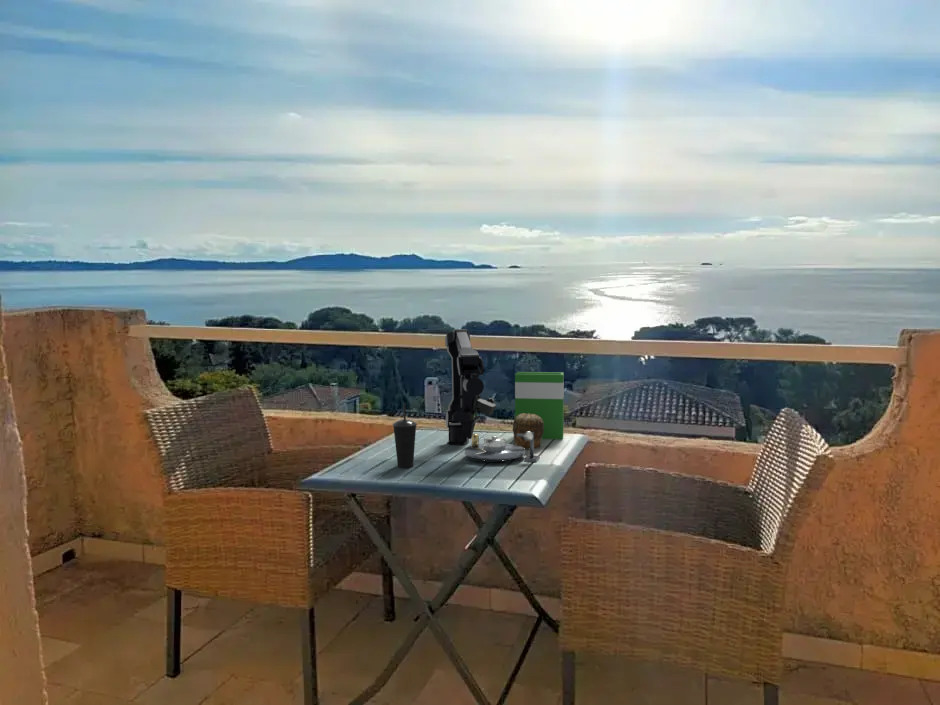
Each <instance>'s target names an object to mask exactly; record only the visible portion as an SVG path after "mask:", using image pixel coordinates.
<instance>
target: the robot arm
mask: <svg viewBox="0 0 940 705" xmlns="http://www.w3.org/2000/svg"><path fill="white" fill-rule="evenodd" d="M444 346H445V347H446V352H447V353H448V355H449V356H450V358H451V359H450V360H451V392H452V393H451V396H452V398H451V399H450V402H449V404H448V406H447V407H448V408H447V410H446V414H445V427H446V428H448V441H447V442H446V444H447V445H448V444H449V445H465V444H467V443H469V441H470V440H472V435H473V434H474V430H475V426H476V423H477V422H478V420H480V419H481V418H482V416H479V415H478V414H477V413H482V415H486V416H489V417H490V416H491V415H493V414H494V411H495V409H496V408H497V406H496V405H497V404H496V403H495V399H493V398H492V397H489V398H488V399H487V400H486V399H483V398H482V395H481V394H482V393H483V391H484V388H485V385H484V382H483V381H482V379H481V378H480V376H483V375H484V373H485V366H484V362H483V359H482V357H481V356H480V354H479V352H478V351H477V350H476V349H473V347H472V344H471V334H470V332H469V330H468V329H466V328H460V329H459V328H458V329H457V328H455V329H453V330H452V331H451V332H448V333H446V334H445V337H444Z"/></svg>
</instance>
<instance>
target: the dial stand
mask: <svg viewBox="0 0 940 705" xmlns="http://www.w3.org/2000/svg"><path fill="white" fill-rule="evenodd" d="M517 436H519V437H524V439H525V440H526V441H530V449H529V454H527V455H526V456H525V457H524V459H523V462H526V461H532V462H531V463H537V462H539V460H540V455H535V449H534V433H533V432H530V431H527V432H525V433H524V434H517Z"/></svg>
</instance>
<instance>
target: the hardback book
mask: <svg viewBox="0 0 940 705" xmlns="http://www.w3.org/2000/svg"><path fill="white" fill-rule="evenodd" d="M564 374H565V373H564V372H563V371H562V372H559V371H558V372H555V371H554V372H553V371H552V372H550V371H548V372H546V371H543V372H542V371H534V372H533V371H517V372H516V373H514V419H515V418H516V417H517V416H518V415H520V414H522V413H525V414H528V413H529V414H535V415H538V416H539V417H541V419H542V420H543V423H544V433H543V435H542V438H541V440H563V439H564V431H565V429H564V426H565V425H564V419H565V418H564V417H565V416H564V414H565V413H564V410H565V408H564V405H565V404H564V398H565V397H564V395H565V393H564V392H565V391H564V390H565V389H564V387H565V385H564V380H565V379H564V378H565V375H564Z"/></svg>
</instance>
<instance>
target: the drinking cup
mask: <svg viewBox="0 0 940 705" xmlns="http://www.w3.org/2000/svg"><path fill="white" fill-rule="evenodd" d="M402 406H403V407H402V408H403V410H402V411H403V419H399V420H397V421H395V422H393V423H392V427H393V434H394V444H395V453H396V460H397V462H396V464H397V468H399V469H410V468H413V467H414V459H415V448H416V447H415V444H416V430H417V425H418V423H417V422H415V421H413V420H410V419H407V418H406V417H407V416H406V415H407V413H406V412H407V410H406V407H407V406H406V403H403V405H402Z"/></svg>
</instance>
